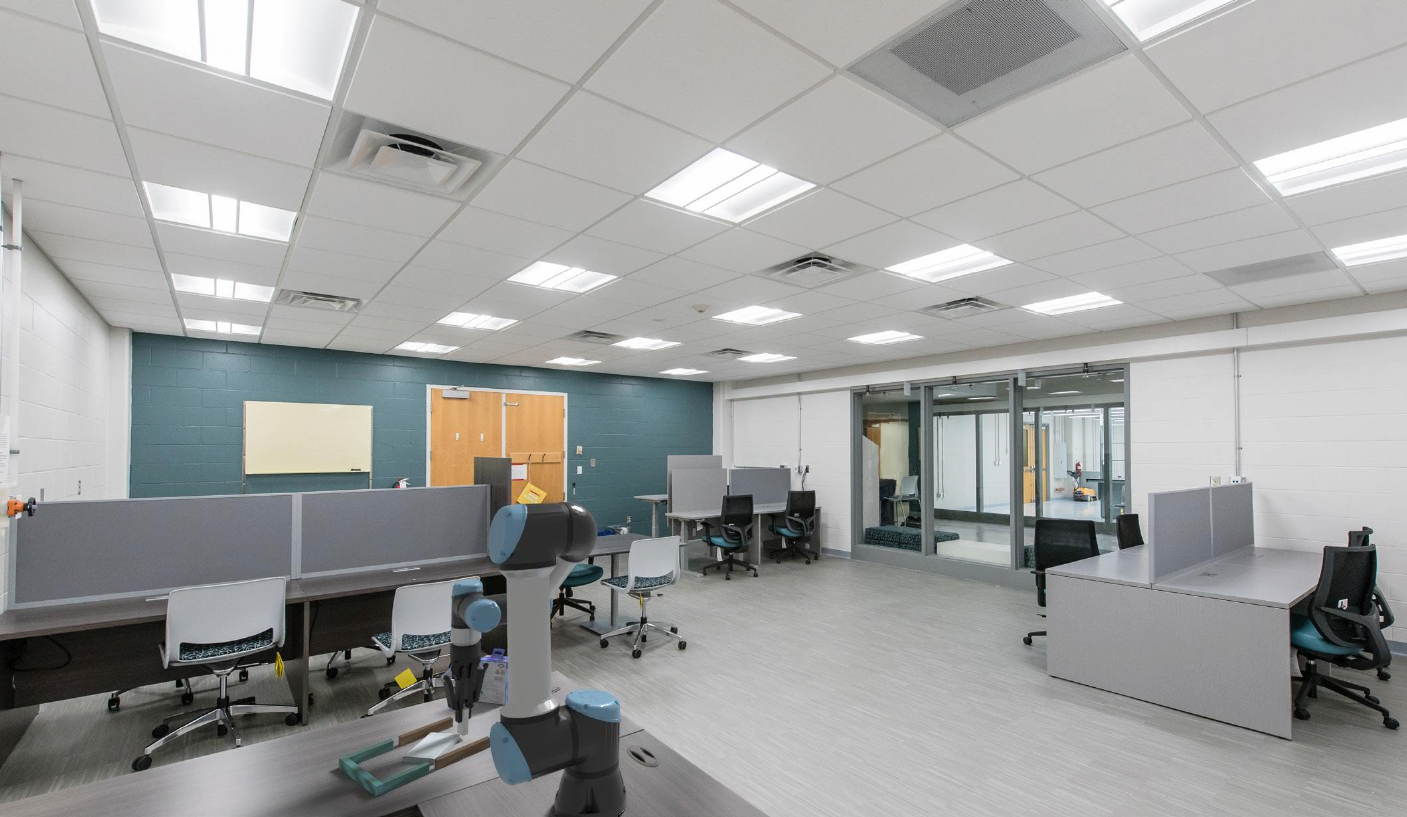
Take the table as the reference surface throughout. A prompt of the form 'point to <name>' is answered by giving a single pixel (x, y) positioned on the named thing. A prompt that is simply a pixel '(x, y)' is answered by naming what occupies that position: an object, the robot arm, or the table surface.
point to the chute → (381, 787)
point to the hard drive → (431, 748)
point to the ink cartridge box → (495, 679)
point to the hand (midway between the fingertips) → (462, 733)
